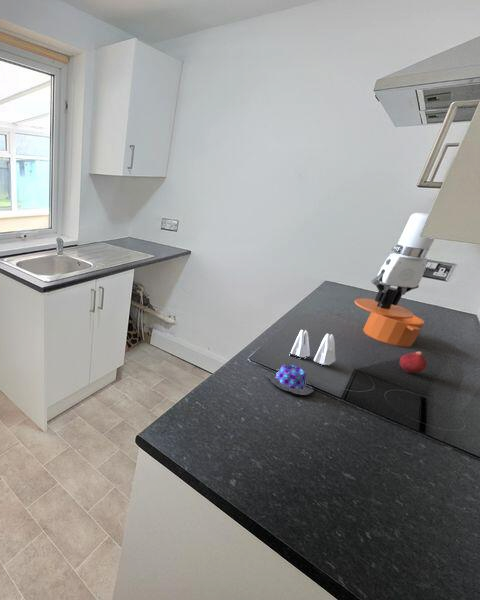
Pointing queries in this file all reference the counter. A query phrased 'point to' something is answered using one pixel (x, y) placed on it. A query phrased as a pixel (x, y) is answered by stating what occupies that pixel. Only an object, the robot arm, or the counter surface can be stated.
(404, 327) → the pot
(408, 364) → the onion
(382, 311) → the pot lid
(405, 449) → the counter surface
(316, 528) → the counter surface
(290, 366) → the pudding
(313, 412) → the counter surface
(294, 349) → the shaker set
